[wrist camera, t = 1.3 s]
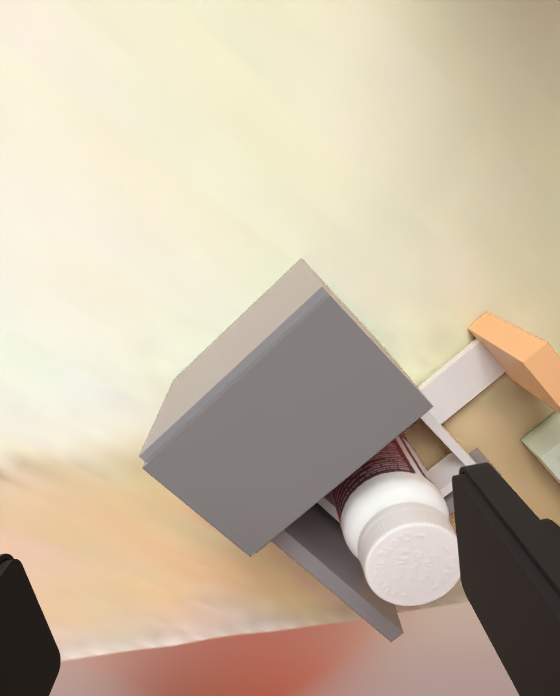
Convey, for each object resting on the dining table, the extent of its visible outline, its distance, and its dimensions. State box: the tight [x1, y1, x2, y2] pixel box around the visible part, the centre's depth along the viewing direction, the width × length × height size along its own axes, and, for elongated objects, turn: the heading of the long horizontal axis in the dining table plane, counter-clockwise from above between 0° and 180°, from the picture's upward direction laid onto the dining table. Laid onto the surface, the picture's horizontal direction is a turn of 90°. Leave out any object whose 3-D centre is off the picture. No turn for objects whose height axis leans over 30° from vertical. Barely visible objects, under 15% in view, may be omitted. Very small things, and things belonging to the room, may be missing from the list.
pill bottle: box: [331, 433, 460, 606], centre depth 29 cm, size 6×6×11 cm
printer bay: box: [139, 258, 501, 642], centre depth 29 cm, size 12×20×11 cm, turn 43°
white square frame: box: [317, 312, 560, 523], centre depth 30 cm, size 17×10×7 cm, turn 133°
